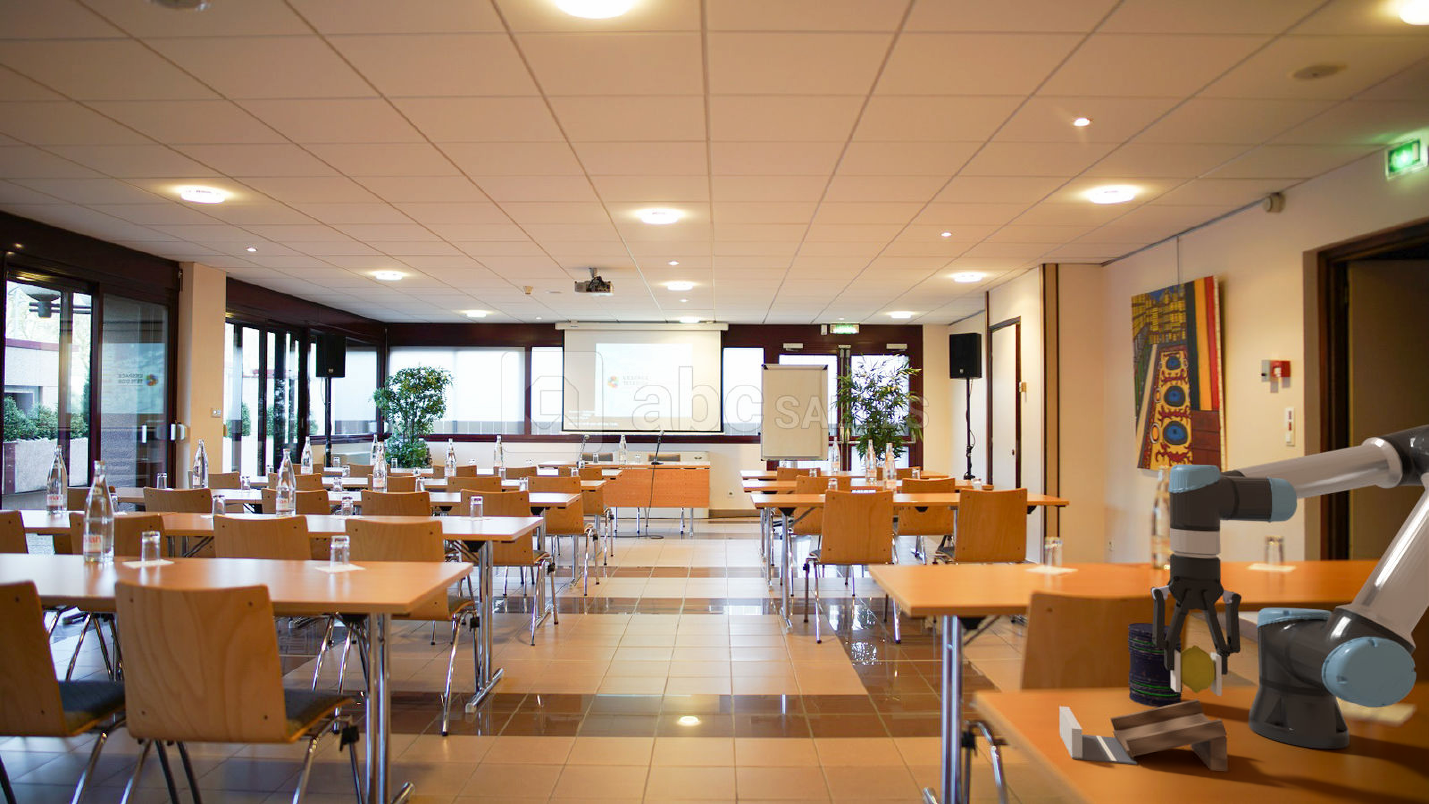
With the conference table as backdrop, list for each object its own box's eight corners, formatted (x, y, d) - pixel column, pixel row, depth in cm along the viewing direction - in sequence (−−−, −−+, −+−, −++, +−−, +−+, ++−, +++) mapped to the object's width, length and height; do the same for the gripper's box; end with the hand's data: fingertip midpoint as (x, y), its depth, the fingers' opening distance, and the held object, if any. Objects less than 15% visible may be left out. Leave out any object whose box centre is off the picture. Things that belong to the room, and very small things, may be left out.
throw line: (1100, 737, 147) (1100, 736, 147) (1116, 762, 135) (1116, 760, 135) (1095, 737, 147) (1095, 735, 147) (1111, 762, 136) (1111, 760, 136)
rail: (1069, 735, 148) (1068, 707, 149) (1082, 759, 137) (1082, 729, 137) (1059, 734, 149) (1059, 706, 149) (1072, 758, 137) (1071, 728, 137)
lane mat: (1119, 739, 146) (1119, 737, 146) (1137, 765, 135) (1137, 763, 135) (1059, 734, 149) (1059, 732, 149) (1072, 758, 137) (1072, 756, 137)
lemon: (1220, 699, 135) (1220, 650, 136) (1184, 696, 136) (1183, 648, 137) (1207, 689, 141) (1206, 642, 141) (1172, 687, 142) (1172, 640, 142)
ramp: (1204, 747, 143) (1203, 699, 143) (1229, 773, 132) (1228, 721, 132) (1110, 739, 146) (1109, 692, 147) (1126, 763, 135) (1126, 712, 136)
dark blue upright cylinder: (1163, 711, 163) (1162, 635, 163) (1118, 697, 171) (1117, 625, 172) (1192, 703, 168) (1191, 630, 168) (1147, 691, 176) (1146, 621, 177)
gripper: (1246, 554, 141) (1248, 690, 140) (1130, 548, 145) (1130, 680, 144) (1265, 560, 134) (1266, 703, 133) (1141, 554, 138) (1142, 692, 137)
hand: (1195, 691), depth 138 cm, fingers closed on lemon, 5 cm apart
